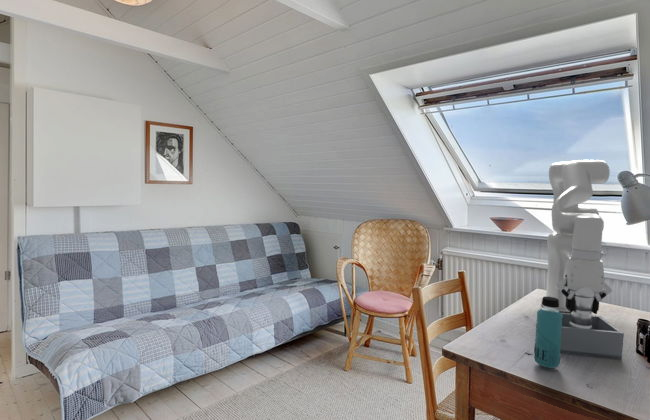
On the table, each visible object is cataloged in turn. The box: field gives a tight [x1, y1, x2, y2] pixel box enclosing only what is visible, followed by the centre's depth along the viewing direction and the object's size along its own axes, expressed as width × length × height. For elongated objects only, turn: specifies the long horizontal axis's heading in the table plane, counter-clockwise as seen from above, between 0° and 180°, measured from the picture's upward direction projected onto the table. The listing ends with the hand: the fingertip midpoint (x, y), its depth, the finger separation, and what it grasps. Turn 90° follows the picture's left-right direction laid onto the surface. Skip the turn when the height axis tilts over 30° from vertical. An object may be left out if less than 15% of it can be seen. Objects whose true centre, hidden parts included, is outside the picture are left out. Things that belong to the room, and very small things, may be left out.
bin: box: [560, 312, 625, 361], centre depth 124 cm, size 15×17×8 cm
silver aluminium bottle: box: [568, 287, 595, 329], centre depth 124 cm, size 6×7×20 cm
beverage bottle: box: [533, 296, 563, 369], centre depth 109 cm, size 6×7×20 cm
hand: (581, 310), depth 124 cm, fingers closed on silver aluminium bottle, 6 cm apart
